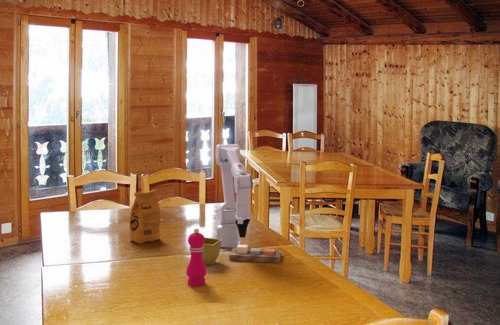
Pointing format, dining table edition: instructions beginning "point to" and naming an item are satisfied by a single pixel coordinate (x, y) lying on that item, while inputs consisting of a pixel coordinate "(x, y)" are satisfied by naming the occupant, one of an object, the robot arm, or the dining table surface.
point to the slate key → (255, 251)
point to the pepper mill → (196, 260)
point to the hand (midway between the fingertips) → (242, 237)
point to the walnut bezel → (255, 256)
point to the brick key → (269, 252)
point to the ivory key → (242, 249)
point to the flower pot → (211, 250)
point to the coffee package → (145, 218)
